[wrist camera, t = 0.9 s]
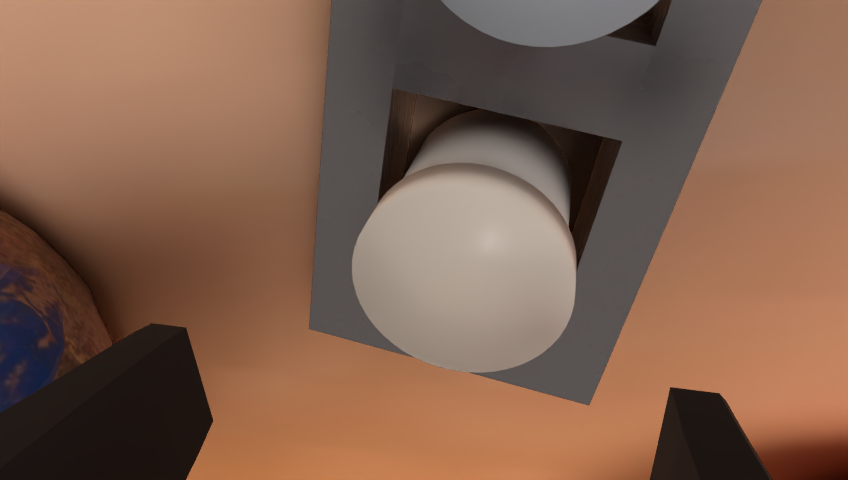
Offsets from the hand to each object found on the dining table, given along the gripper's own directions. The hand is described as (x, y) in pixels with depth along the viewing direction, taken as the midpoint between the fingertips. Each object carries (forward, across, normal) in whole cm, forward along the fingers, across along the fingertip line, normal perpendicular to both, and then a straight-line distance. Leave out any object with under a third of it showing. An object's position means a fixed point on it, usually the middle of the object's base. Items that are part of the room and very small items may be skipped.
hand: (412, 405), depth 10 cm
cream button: (+8, 0, 0) cm, 8 cm away
